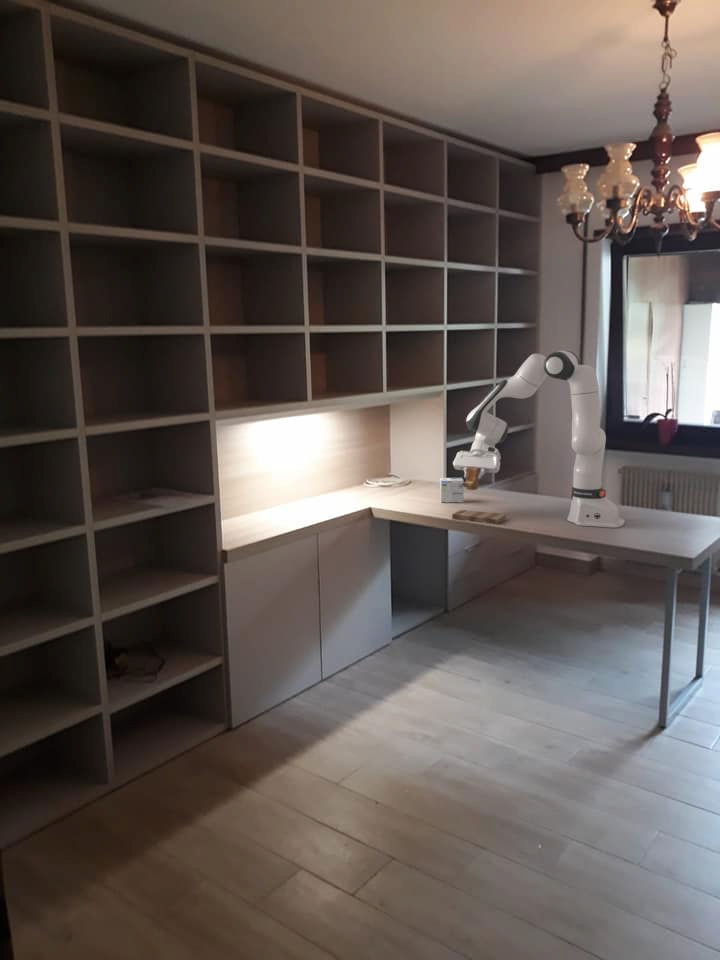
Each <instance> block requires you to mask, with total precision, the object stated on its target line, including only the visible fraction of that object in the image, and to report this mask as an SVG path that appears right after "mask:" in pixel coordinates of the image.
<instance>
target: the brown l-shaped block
mask: <svg viewBox="0 0 720 960" xmlns="http://www.w3.org/2000/svg"><path fill="white" fill-rule="evenodd" d="M479 473H480V472H479V468H472V467H469V468H467V469H466V478H465V479H466V480H465V481H464V483H462V487H464V488H465V490H468V491H476V490H478V489H479V479H477V478H476V476H477V474H479Z"/></svg>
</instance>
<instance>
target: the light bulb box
mask: <svg viewBox="0 0 720 960" xmlns="http://www.w3.org/2000/svg"><path fill="white" fill-rule="evenodd" d="M464 482H465V481H464V479H463V477H440V478H439V497H440V498H439V501H441V502H440V504H443V503H442V502H463V503H464V490H465V487H462V483H464Z"/></svg>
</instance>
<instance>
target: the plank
mask: <svg viewBox="0 0 720 960" xmlns="http://www.w3.org/2000/svg"><path fill="white" fill-rule="evenodd" d="M451 519H452V520H458V521H465V520H469V521H468V522H474V521H476V523H482V522H485V523H484V524H491V523H493V524H492V525H499V524H500V522H501V521H502V522H504V521H505V520H506V519H507V515H506V514H505V513H495V512H487V511H477V510H468V509H459V510H457V511H455V512H454V513H452V514H451ZM504 519H505V520H504ZM503 520H504V521H503ZM502 522H501V523H502Z"/></svg>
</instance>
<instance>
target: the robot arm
mask: <svg viewBox="0 0 720 960" xmlns="http://www.w3.org/2000/svg"><path fill="white" fill-rule="evenodd" d="M547 377H550V378H553V379H555V380H561V381H567V382H568V384H569V390H570V400H571V401H570V403H571V412H572V413H571V414H572V415H571V416H572V419H571V448H572V450H573V451H574V452H575V453H576V456H575V462H574V464H573V476H572V477H573V478H572V479H573V480H572V486H571V491H570V499H571V502H570V508H569V513H568V516H567V517H566V518H567V521H568V522H569V523H573V524H575V525H577V526H583V527H584V526H585V527H599V528H614V529H616V528H621V527H622V526H624V525H625V519H624V518H621V517H620V513H619V509H618V506H616V505H615V504H614V503H613V502H612V501H611V500H609V499H608V498H607V497H606V495H607V494H606V493H607V489H606V488H605V489H604V488H602V475H603V473H602V471H603V463H604V456H605V451H606V450H605V449H606V440H607V437H606V432H605V431H604V429H602V428H601V413H602V412H601V411H602V410H601V397H600V387H599V383H598V382H599V381H598V377H597V374H596V371H595V368H594V367H593V366H591V365H588V364H580V360H579V357H578V356H577V354H575V353H574V352H572V351H570V350H558V351H553V352H550V353H549V354H548V355H546V356H545V355H543V354H540V353H532V354H531V355H529V356H528V357H527V358H526V360H525V361H523V363H522V364H521V365H520V367H519V368H518V370H517V371H516V372H515V373H514V375H513V376H512V377H509V378H508V379H502V380H501V381H500V382H499V383H498V384H496V385H495V387H493V388H492V389H491V391H490V392H488V394H487V395H486V396H485V397H483V399H482V400H481V401H480V402H479V404H477V405H476V406H475V407H474V408H473V409H472V410H471V411H470V412H469V413H468V415H467V417H466V418H465V423H466V426H467V428H468V430H470V431H472V432H475V436H474V441H472V444H471V447H470V450H460V451H458V452H457V453H456V456H455V458H454V460H453V461H452V465H453V468H454V469H455V470H456V471H457V470H459V471H463V472H464V475H463V477H464V479H466V469H467V468H469V467H472V468H479V474H477V476H476V478H477V479H478V481H479V480H481V479H482V477H483V476H484V475H485V474H486V473H493V474H497V473H498V472H499V471H500V466H501V458H502V457H501V453H500V451H499V449H498V448H496V447H493V446H494V445H497V444H500V443H502V442H504V441H505V439H506V438H507V436H508V434H509V433H508V432H509V425H508V422H506V421H505V420H503V419H501V418H499V417H498V416H495V415H493V414H491V413H489V412H488V411H489V410H490V409H491V408H492V406H493V405H494V404H496V402H497V401H498V400H500V399H503V398H512V399H513V398H514V399H527V398H530V397H532V396H534V394H535V393H536V392H537V390H538V389H539V387H540V386H541V385H542V383H543V382H544V380H545V379H546V378H547Z"/></svg>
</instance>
